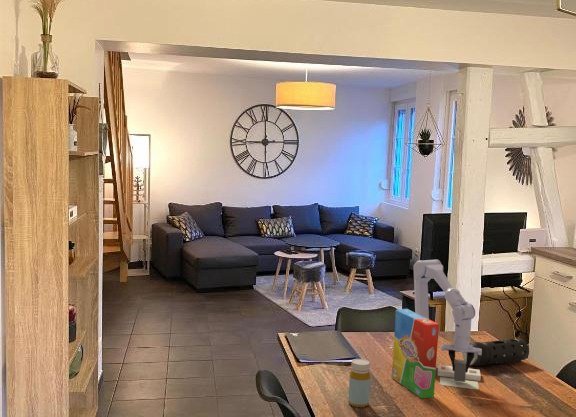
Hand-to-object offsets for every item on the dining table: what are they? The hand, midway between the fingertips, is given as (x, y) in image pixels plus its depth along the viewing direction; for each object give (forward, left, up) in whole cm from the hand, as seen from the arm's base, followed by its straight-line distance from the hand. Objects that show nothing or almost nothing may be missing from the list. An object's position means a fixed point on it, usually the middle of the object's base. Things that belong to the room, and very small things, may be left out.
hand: (459, 370), depth 230 cm
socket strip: (0, +9, -5) cm, 10 cm away
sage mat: (0, 0, -5) cm, 5 cm away
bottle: (-34, -31, -6) cm, 46 cm away
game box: (-17, -9, -6) cm, 20 cm away
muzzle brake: (+15, +29, -6) cm, 33 cm away
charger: (0, 0, -3) cm, 4 cm away
